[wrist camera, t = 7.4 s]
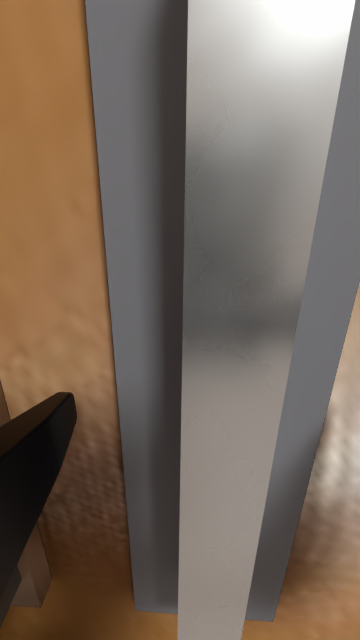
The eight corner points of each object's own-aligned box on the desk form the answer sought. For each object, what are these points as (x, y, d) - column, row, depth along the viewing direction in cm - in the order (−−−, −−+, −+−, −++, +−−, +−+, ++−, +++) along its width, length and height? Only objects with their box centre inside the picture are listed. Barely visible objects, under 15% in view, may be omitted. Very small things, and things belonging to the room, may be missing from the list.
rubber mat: (270, 606, 16) (273, 621, 15) (137, 596, 16) (135, 610, 16) (501, -364, 5) (539, -434, 4) (68, -332, 5) (52, -396, 5)
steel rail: (232, 583, 14) (238, 656, 12) (180, 579, 14) (177, 650, 12) (327, -116, 6) (412, -317, 3) (195, -111, 6) (193, -303, 3)
